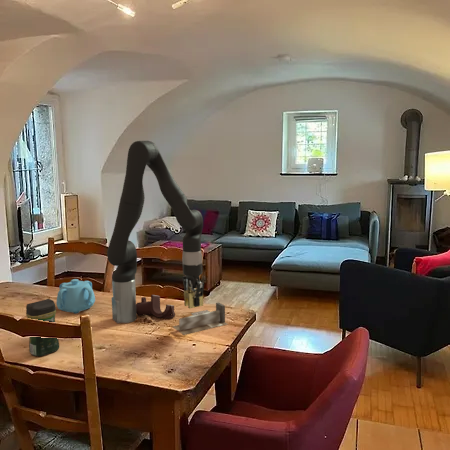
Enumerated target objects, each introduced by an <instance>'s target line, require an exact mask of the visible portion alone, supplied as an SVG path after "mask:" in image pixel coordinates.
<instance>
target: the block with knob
mask: <svg viewBox="0 0 450 450" xmlns="http://www.w3.org/2000/svg"><path fill="white" fill-rule="evenodd" d="M194 289H197V288H194ZM195 293H196V291H195ZM199 299H200V306H197V307H195V306H194V296H193V292H192V291H191V289H190V290H183V300H184V302H183V303H184V307H188V309H194V308H195V309H196V308H199V307H202V306H204V295H203V296H201V297H199Z"/></svg>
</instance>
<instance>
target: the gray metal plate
mask: <svg viewBox="0 0 450 450" xmlns="http://www.w3.org/2000/svg"><path fill="white" fill-rule="evenodd" d="M207 312H211V311H210V310H208V309H205V310H200V311H199V310H198V311H196V312H195V311H194V312H191V313H190V314H191V316H193V315H198V314H203V313H207Z"/></svg>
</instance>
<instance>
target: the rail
mask: <svg viewBox="0 0 450 450" xmlns="http://www.w3.org/2000/svg"><path fill="white" fill-rule="evenodd" d="M178 320H179V321H178V322H179V323H178V325H173V326H172V328H173V329H174V330H176V331H177V332H178V333H180V334H182V335H183V336H187V335H191V334H194V333H198V332H199V333H200V332H203V331H206V330H207V331H208V330H211V329H215V328H218V327H219V328H220V327H223V326H227V325H229V324H228V323H227V322H226V306H225V305H224V304H222V303H220V302H218V301H217V302H216V303H215V310H212V311H210V312H207V313H203V314H198V315H190V316H185V317H180V318H178Z"/></svg>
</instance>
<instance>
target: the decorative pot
mask: <svg viewBox="0 0 450 450" xmlns="http://www.w3.org/2000/svg"><path fill="white" fill-rule="evenodd" d="M95 303H96V296H95V292H94V290H93V283H92V281H89V280H84V281H83V280H79V279H78V278H74V279H71V280H70V281H69V282H62V283H60V284H59V290H58V292H57V296H56V303H55V305H56V308H57V309H58V310H60V311H63V312H67V313H73V314H80V312H81V311H85V310H89V309H91V307H93V305H94V304H95Z"/></svg>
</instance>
